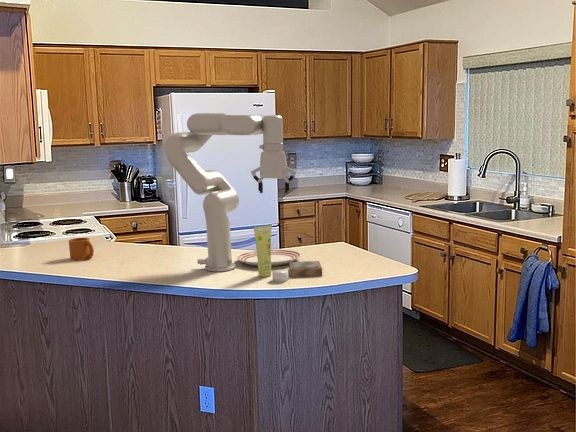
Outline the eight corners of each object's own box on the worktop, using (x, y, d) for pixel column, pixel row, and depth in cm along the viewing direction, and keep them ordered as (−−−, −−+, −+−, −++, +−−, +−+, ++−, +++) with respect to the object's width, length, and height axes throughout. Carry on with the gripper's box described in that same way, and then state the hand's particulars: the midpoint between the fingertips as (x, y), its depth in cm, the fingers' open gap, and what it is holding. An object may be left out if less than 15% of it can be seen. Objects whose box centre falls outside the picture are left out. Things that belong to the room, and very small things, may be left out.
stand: (290, 277, 237) (290, 268, 237) (289, 269, 249) (289, 261, 248) (322, 275, 238) (322, 267, 237) (319, 268, 249) (319, 260, 249)
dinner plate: (229, 259, 272) (228, 251, 271) (287, 252, 281) (287, 245, 280) (247, 273, 246) (247, 265, 246) (311, 265, 256) (311, 257, 255)
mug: (82, 262, 274) (80, 242, 273) (66, 260, 281) (64, 240, 280) (99, 258, 281) (97, 238, 280) (83, 255, 288) (81, 236, 287)
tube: (267, 278, 237) (265, 227, 234) (255, 277, 239) (253, 227, 236) (273, 274, 242) (271, 225, 239) (261, 273, 244) (259, 224, 241)
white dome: (272, 283, 230) (272, 273, 229) (272, 278, 236) (272, 270, 235) (289, 282, 230) (288, 273, 230) (288, 278, 236) (288, 269, 236)
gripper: (249, 149, 233) (250, 194, 236) (295, 148, 231) (295, 194, 234) (251, 147, 240) (252, 191, 243) (296, 147, 239) (297, 191, 242)
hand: (273, 192), depth 239 cm, fingers open, 9 cm apart
